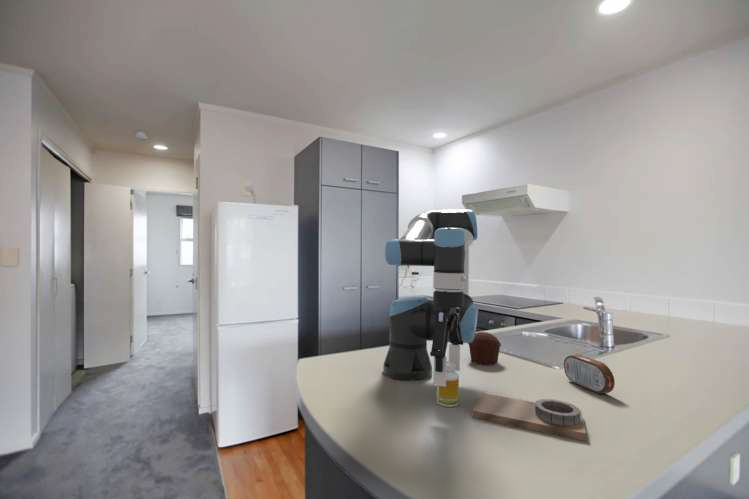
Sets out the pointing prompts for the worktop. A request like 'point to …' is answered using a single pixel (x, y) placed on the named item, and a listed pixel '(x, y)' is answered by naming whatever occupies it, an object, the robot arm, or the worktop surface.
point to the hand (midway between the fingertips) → (447, 377)
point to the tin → (589, 373)
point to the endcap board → (532, 415)
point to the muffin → (484, 349)
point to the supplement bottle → (449, 388)
